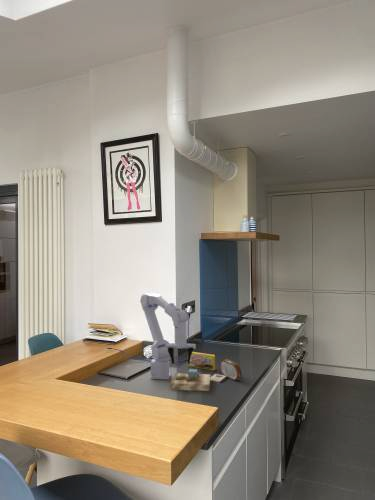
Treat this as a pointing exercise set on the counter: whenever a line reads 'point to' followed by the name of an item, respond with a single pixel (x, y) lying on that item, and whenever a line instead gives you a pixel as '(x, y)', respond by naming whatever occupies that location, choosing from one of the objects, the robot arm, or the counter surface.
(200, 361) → the candy box
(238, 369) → the tin
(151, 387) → the counter surface
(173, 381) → the board
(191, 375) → the block
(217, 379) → the chocolate bar
